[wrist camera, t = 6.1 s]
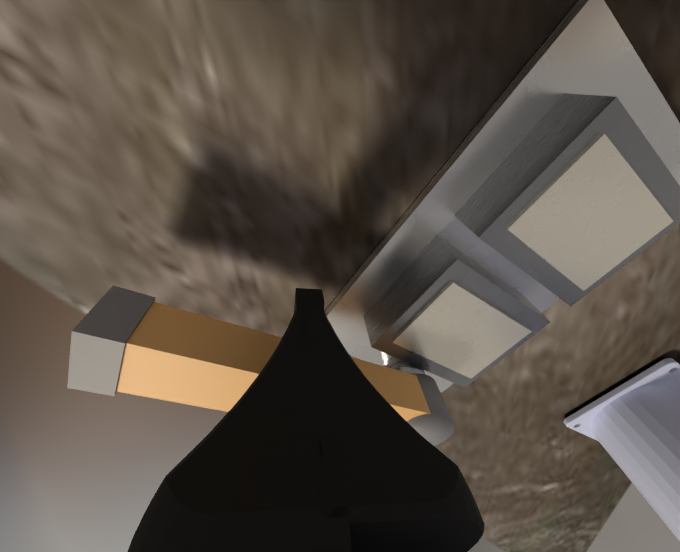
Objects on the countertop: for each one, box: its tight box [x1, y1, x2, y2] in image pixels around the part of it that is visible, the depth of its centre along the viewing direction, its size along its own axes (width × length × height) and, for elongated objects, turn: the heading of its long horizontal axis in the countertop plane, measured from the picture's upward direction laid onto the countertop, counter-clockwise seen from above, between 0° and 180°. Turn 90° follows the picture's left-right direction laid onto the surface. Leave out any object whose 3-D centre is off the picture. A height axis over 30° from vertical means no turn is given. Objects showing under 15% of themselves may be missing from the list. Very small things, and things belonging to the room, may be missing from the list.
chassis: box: [324, 0, 680, 392], centre depth 13 cm, size 10×16×3 cm, turn 146°
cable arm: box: [67, 286, 455, 446], centre depth 11 cm, size 13×2×2 cm, turn 63°
